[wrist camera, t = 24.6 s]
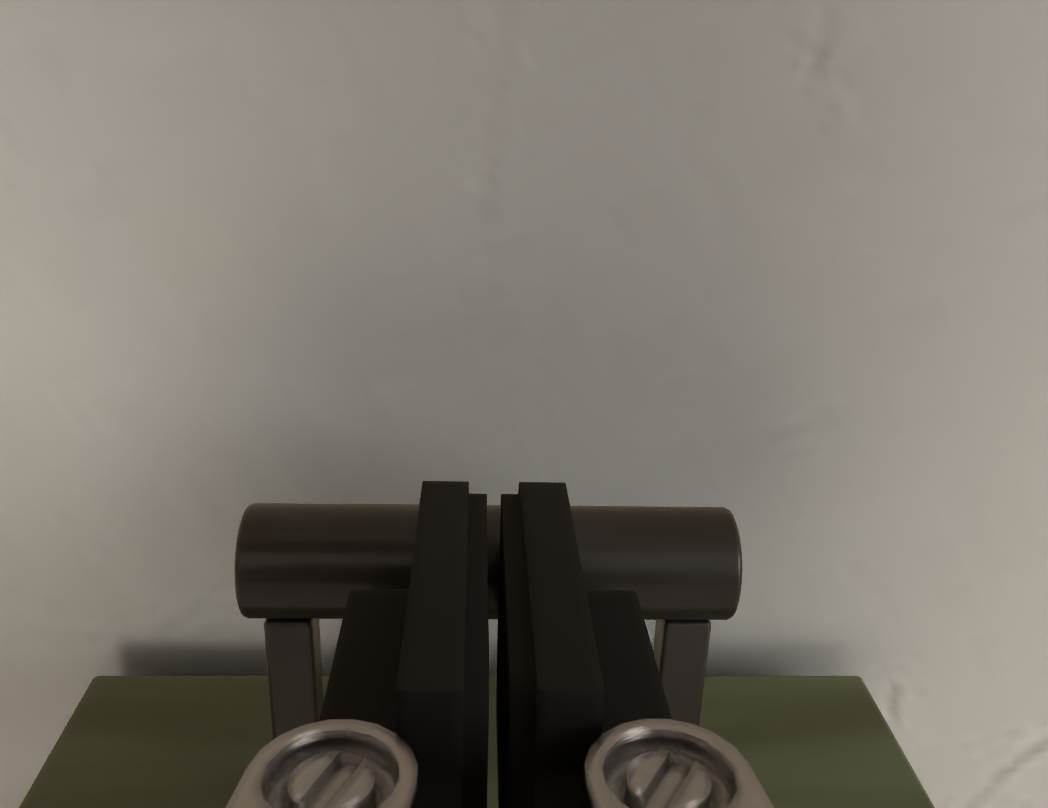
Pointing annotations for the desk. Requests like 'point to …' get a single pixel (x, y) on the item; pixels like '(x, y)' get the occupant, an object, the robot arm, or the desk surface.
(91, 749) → the drawer
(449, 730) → the robot arm
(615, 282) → the desk surface
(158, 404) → the desk surface
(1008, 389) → the desk surface
